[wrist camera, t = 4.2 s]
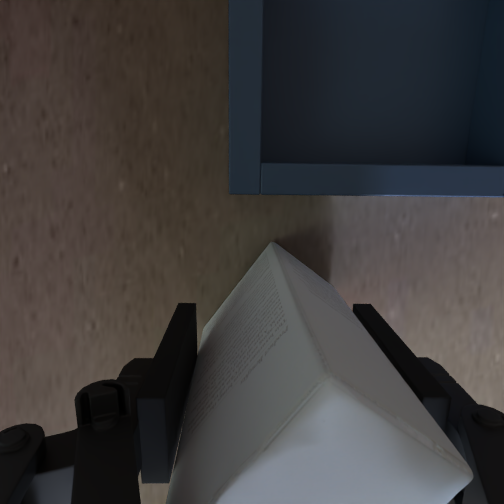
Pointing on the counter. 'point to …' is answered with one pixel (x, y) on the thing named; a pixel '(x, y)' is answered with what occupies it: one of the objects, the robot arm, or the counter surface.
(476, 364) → the counter surface
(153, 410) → the robot arm
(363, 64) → the holder
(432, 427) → the cosmetic box
